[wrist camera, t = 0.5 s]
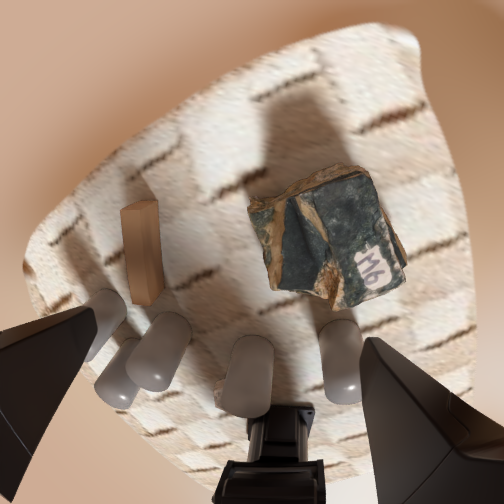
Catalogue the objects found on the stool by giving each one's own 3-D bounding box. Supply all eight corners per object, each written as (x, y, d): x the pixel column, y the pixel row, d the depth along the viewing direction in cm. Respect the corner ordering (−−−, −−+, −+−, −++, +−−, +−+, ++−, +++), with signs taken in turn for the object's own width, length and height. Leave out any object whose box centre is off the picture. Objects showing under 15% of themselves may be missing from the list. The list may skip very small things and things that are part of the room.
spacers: (346, 385, 25) (354, 435, 20) (110, 359, 28) (83, 397, 22) (366, 308, 22) (385, 357, 17) (91, 286, 25) (53, 320, 19)
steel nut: (259, 374, 26) (258, 386, 25) (258, 406, 28) (257, 418, 26) (216, 371, 27) (212, 382, 25) (219, 402, 28) (216, 413, 27)
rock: (240, 199, 21) (224, 221, 16) (368, 151, 19) (396, 156, 13) (286, 303, 23) (285, 350, 18) (400, 262, 21) (429, 299, 16)
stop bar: (164, 287, 24) (150, 306, 21) (147, 286, 24) (132, 304, 21) (157, 200, 21) (139, 210, 18) (139, 200, 21) (120, 209, 19)
